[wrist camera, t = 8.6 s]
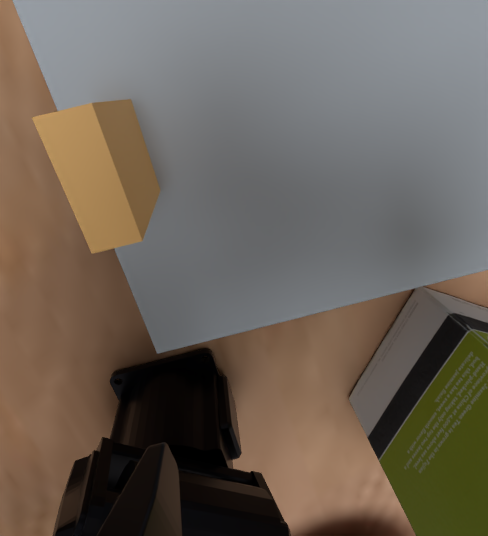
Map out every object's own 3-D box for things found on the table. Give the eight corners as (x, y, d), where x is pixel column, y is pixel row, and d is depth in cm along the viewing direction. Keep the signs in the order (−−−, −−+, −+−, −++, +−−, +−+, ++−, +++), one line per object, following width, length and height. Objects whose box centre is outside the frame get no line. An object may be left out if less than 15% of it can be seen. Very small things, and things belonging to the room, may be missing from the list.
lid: (158, 342, 17) (142, 455, 12) (-43, -160, 10) (-327, -463, 4) (510, 253, 17) (650, 324, 12) (571, -305, 10) (1002, -761, 5)
